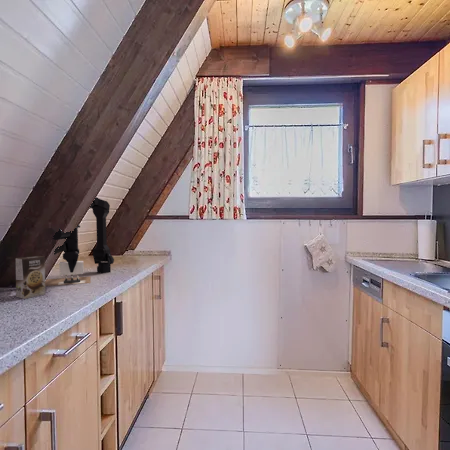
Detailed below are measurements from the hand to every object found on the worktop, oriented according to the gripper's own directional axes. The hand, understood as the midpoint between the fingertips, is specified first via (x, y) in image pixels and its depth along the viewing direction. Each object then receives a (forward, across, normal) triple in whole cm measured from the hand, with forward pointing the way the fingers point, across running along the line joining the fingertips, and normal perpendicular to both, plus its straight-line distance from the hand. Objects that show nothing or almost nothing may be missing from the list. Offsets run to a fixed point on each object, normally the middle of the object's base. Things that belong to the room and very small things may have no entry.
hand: (71, 271), depth 164 cm
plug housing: (+1, 0, 0) cm, 1 cm away
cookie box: (+7, +14, -15) cm, 21 cm away
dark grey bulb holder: (+5, 0, 0) cm, 5 cm away
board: (+7, -4, -2) cm, 8 cm away
